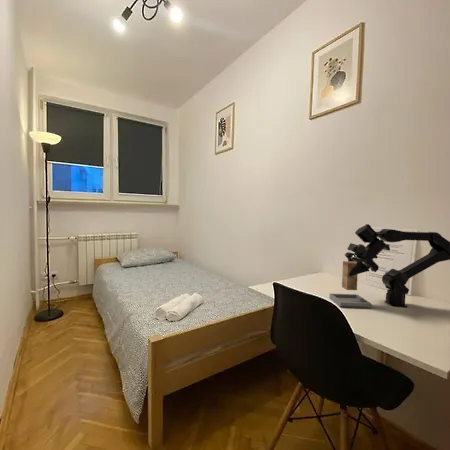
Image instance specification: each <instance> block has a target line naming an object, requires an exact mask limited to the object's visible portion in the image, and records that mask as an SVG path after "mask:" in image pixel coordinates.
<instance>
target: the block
mask: <svg viewBox="0 0 450 450" xmlns="http://www.w3.org/2000/svg"><path fill="white" fill-rule="evenodd" d="M356 265H357V263H356V262H353V261H348V260H347V261H345V260H344V261H342V275H341V276H342V278H341V288H343V289H345V291H358V275H359V274H357V275H354V276H350V275H349V274H350V272H351V271H352V270H353V269H354V267H355V266H356Z"/></svg>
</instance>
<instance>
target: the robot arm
mask: <svg viewBox="0 0 450 450" xmlns="http://www.w3.org/2000/svg"><path fill="white" fill-rule="evenodd" d="M354 233H355V235H356V236H357V237H358V238H359V239H360V240H361V241H362V242H363V243H367V245H364V244H361V243H359V244H356V243H349V245H348V247H347V250H348V251H347V252H346V253H345V254H344V256H345V258H346V259H347V261H353V262H356V263H357V265H356V266H355V267H354V269H353V270H352V271H351V272H350V274H349V275H350V276H354V275H357V274H358V275H360V274H363V273H367V272H370V271H371V272H373V273H376V272H377V271H378V270H379V267H380V266H379V264H377V263H376V262H375V260H377V258H379V257H378V255H379V254H380V253H381V252H382V251H383V250H384V251H390V250H391V247H390V244H389V243H400V242H403V241H422V242H423V241H424V242H425V241H426V242H428V243H429V246H430V248H431V249H430V251H429V253H428V254H426V255H424V256H422V257H420V258H418V259H417V260H415V261H413V262H412V263H409V264H408V265H406V266H405V267H403V268H401V269H399V270H398V269H395V268H391V269H389V270H388V271H386V272H384V273H383V275H382V278H381V282H382V284H383V285H384V287H385V288H386V289H387V290H386V293H385V300H384V302H385V303H386V304H387V305H389V306H391V307H396V308H398V307H399V308H400V307H401V308H408V305H407V304H406V295H408V293H409V291H410V288H408V287H407V286H406V284H407V283H408V281H409V279H411V278H413V277H415V276H416V275H418V274H419V273H422V272H423V271H425V270H427V269H429V268H430V267H432V266H435V264H437V263H440V262H445V261H450V241H449V240H447V239H446V238H445V237H444V236H443V235H441V233H439V232H436V231H427V232H426V231H402V230H398V229H394V228H393V229H392V228H391V229H390V228H382V229H381V230H380V231H376V230H374V229H373V227H372V226H371V225H370V224H369V223H367V224H366V223H365V225H362V226H361V227H359V228H358V229H356V231H355V232H354ZM386 242H387V243H386ZM350 251H351V252H350ZM374 259H375V260H374ZM358 275H357V276H358Z"/></svg>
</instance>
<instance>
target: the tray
mask: <svg viewBox="0 0 450 450" xmlns="http://www.w3.org/2000/svg"><path fill="white" fill-rule="evenodd" d="M329 299H330V300H331V301H332V302H333V303H334V304H336V305H337V306H338V307H339V308H341V309H342V308H347V309H372V303H371V302H370V301H368V300H367V299H365V298H364V297H362V296H361V295H359V294H358V293H353V294H352V293H329Z"/></svg>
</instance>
